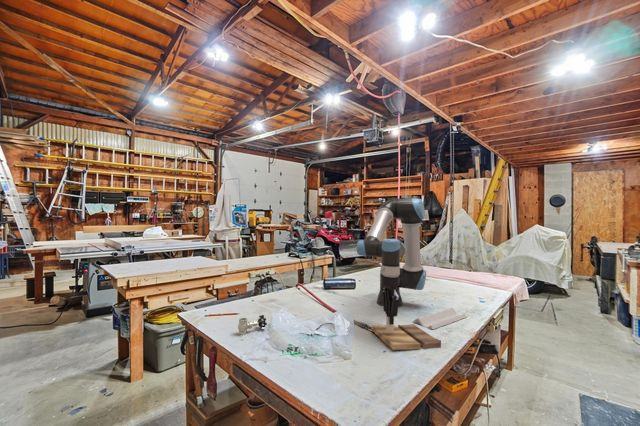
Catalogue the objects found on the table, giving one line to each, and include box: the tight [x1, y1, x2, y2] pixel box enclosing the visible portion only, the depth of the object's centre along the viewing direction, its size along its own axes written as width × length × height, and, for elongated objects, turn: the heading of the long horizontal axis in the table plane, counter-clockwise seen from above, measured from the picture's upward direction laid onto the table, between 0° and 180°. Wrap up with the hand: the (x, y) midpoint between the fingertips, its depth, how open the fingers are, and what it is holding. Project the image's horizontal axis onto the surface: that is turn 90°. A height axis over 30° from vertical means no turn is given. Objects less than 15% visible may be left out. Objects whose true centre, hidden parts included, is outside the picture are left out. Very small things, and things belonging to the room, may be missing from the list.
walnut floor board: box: [397, 323, 442, 350], centre depth 124 cm, size 20×8×2 cm, turn 14°
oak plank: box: [371, 324, 421, 351], centre depth 122 cm, size 20×12×2 cm, turn 14°
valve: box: [237, 314, 268, 336], centre depth 127 cm, size 7×7×12 cm
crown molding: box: [411, 307, 467, 330], centre depth 148 cm, size 31×12×4 cm, turn 126°
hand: (389, 330), depth 121 cm, fingers closed
